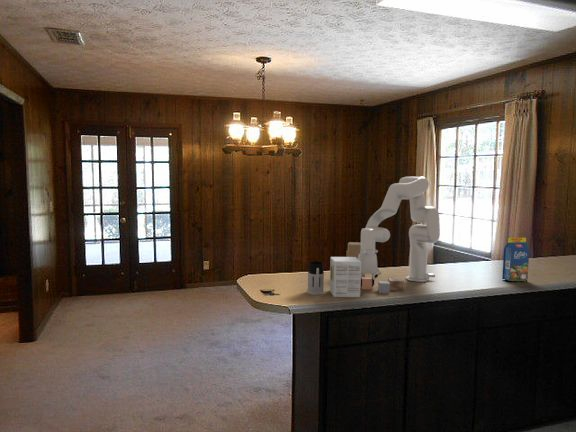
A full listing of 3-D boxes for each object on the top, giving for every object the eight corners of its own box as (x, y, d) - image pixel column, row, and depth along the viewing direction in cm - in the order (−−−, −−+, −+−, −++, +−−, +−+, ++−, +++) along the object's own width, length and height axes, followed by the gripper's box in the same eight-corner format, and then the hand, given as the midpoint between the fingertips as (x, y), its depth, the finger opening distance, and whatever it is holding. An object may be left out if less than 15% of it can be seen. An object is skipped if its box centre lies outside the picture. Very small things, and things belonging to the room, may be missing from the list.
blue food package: (527, 281, 256) (530, 238, 254) (509, 282, 254) (512, 238, 252) (519, 279, 263) (522, 236, 261) (501, 280, 260) (504, 237, 258)
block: (363, 276, 264) (364, 242, 263) (365, 279, 254) (366, 244, 253) (346, 275, 265) (347, 241, 264) (347, 279, 255) (348, 244, 254)
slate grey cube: (388, 291, 229) (388, 281, 229) (389, 293, 224) (389, 283, 224) (378, 290, 230) (378, 281, 229) (379, 293, 225) (379, 283, 224)
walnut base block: (401, 287, 238) (401, 278, 237) (403, 290, 231) (403, 281, 230) (387, 287, 238) (388, 277, 238) (389, 290, 231) (389, 280, 231)
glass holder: (323, 290, 228) (323, 261, 227) (326, 297, 214) (327, 266, 213) (306, 290, 228) (306, 260, 227) (308, 297, 214) (308, 266, 213)
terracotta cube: (370, 287, 237) (371, 277, 237) (371, 289, 232) (372, 279, 232) (361, 286, 237) (361, 277, 237) (362, 289, 232) (362, 279, 232)
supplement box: (329, 290, 228) (329, 256, 227) (354, 290, 229) (355, 256, 227) (333, 297, 215) (334, 261, 213) (360, 297, 216) (361, 261, 214)
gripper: (383, 251, 236) (382, 285, 238) (350, 250, 238) (349, 284, 239) (385, 253, 229) (384, 288, 230) (351, 252, 230) (350, 287, 232)
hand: (366, 286), depth 235 cm, fingers closed on terracotta cube, 5 cm apart
